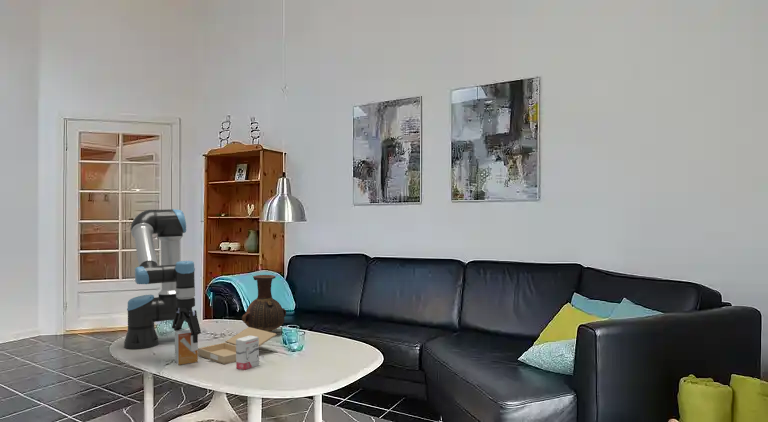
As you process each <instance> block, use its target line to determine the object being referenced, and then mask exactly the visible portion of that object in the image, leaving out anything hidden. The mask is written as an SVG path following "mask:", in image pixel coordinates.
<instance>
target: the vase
mask: <svg viewBox="0 0 768 422" xmlns="http://www.w3.org/2000/svg"><path fill="white" fill-rule="evenodd" d="M252 277H253V280H254V281H256V285H257V297H256V298H255V299H253V300H252V301H251V302H250V304H249V305H248V306H247V308H246V310H245V313H244V314H243V315H242V316H241V321H242V322H243V323H244V324H245V325H246V326H247V328H248V327H251V328H255V329H259V330H263V331H267V332H271V333H272V331H275V330H277V329H279V328H280V327H281V326H282V325H284V323H285V317H286V316H287V311H286V309H285V308H284V307H282V305H281V304H280V302H279V301H278V300H277V299H274V298H273V295H272V283H273V280H274V279H276V277H277V276H276V275H274V274H256V275H253V276H252Z"/></svg>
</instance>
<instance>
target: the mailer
mask: <svg viewBox="0 0 768 422" xmlns="http://www.w3.org/2000/svg"><path fill="white" fill-rule="evenodd" d="M198 357H201V358H204V359H206V358H207V359H206V360H209V359H210V361H213V362H215V363H218V364H220V365H221V364H222V365H229V364H232V363H235V362H236V345H232V344H229V343H226V342H221V343H217V344H212V345H208V346H204V347H203V346H202V347H198Z"/></svg>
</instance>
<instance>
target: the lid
mask: <svg viewBox="0 0 768 422" xmlns="http://www.w3.org/2000/svg"><path fill="white" fill-rule="evenodd" d="M246 336H256V337H259V347H261V346H262V345H264V344H265V343H267V342H268V341H270V340H271V339H272V338H274V337H276V336H277V333H275V332H272V331H271V332H267V331H263V330H259V329H255V328H251V327H248V326H247V327H246V328H245V329H244V330H241V331H240V332H238V333H237V334H235V335H234V336H231V337H230V338H229V339H227V340H225V341H224V343H228V344H231V345H235V346H236V340H237V339H239V338H242V337H246Z"/></svg>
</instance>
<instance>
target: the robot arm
mask: <svg viewBox="0 0 768 422" xmlns="http://www.w3.org/2000/svg"><path fill="white" fill-rule="evenodd" d="M186 232H187V222H186V218H185V214H184V212H183V211H182V210H181V209H174V208H171V209H147V210H144V211H141V212H140V213H139V214H137V216H135V218H134V219H133V221H132V223H131V225H130V233H131V236H132V237H133V238H134V243H135V249H136V256H137V262H138V263H137V264H138V266H137V267H135V268H134V280H135V284H137V285H153V284H161V290H160V291H159V292H158V297H155V295H154V294H145V295H138V296H135V297H132V298H130V299H129V300H128V301H127V308H126V311H127V332H126V335H125V339H124V341H123V347H124V348H125V349H129V350H141V349H148V348H152V347H155V346H158V344H159V343H160V342H159V336H158V334H157V331H156V327H155V323H156V322H166V321H172V325H171V328H172V329H174V330H173V331H174V333H175V332H176V331H183V328H182V327H183V325H184V322H186V323H187V325H188V329H189V330H190V331H191V351H196V350H198V348H199V342H198V341H199V339H198V335H200V334H202V331H201V327H200V323H199V319H198V318H199V317H198V314H197V313H198V312H197V310H193V308H194V307H195V306H196V298H195V296H196V287H195V281H196V280H195V271H196V268H195V262H194V261H193V260H181V255H180V254H181V253H180V252H181V249H180V248H181V247H180V244H181V243H180V241H181V239H182V238H183V237H184V235H183V234H185V233H186ZM155 234H157V236H156V237H157V239H159V240H160V253H161V254H160V256H161V257H160V260H161V262H160V263H161V265H158V260H157V255H156V249H155V244H154V239H153V235H155Z"/></svg>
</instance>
